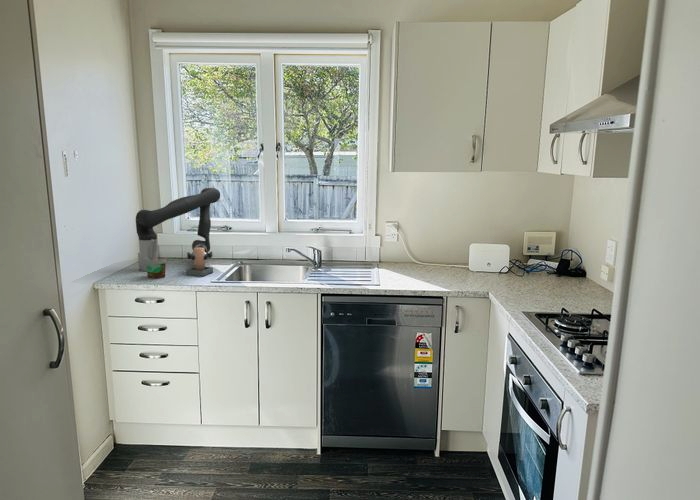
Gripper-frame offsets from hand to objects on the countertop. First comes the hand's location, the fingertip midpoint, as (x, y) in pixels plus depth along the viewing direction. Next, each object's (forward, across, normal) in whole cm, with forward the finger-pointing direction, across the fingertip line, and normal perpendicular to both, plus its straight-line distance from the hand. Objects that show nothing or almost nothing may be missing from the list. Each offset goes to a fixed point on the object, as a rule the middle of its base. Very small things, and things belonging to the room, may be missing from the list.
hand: (199, 258), depth 254 cm
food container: (+2, -23, +9) cm, 25 cm away
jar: (-3, 0, +7) cm, 7 cm away
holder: (-2, 0, +9) cm, 10 cm away
